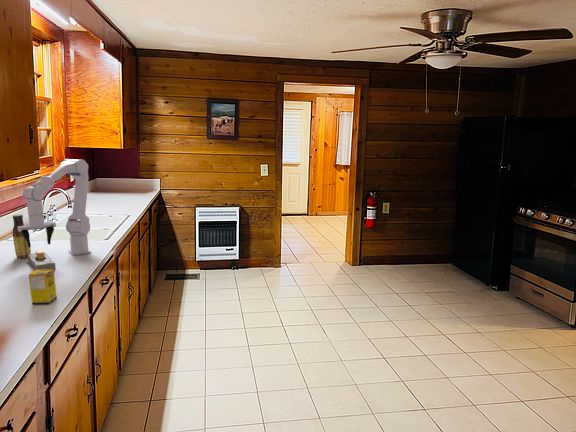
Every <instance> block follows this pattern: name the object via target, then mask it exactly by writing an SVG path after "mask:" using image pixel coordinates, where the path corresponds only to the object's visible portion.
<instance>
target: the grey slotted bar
mask: <svg viewBox="0 0 576 432" xmlns="http://www.w3.org/2000/svg"><path fill="white" fill-rule="evenodd" d="M43 252H44V258H45V259H43V260H37V257H36V252H33V253H31V254H27V258H26V259H27V262H28V263H29V264H30V265H31V267H32V268H33V269H34V271H35V270H36V269H54V271H56V270H57V269H56V262H55V261H54V260H53V259H52V258H51V257H50V256H49V255H48V254H47V253H46V252H45V251H43Z"/></svg>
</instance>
